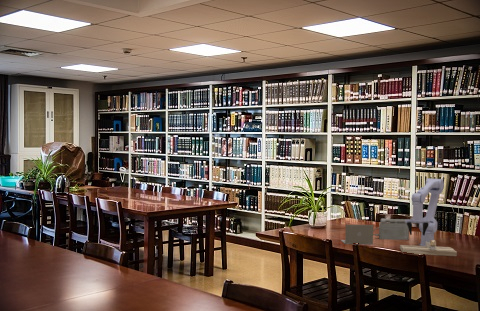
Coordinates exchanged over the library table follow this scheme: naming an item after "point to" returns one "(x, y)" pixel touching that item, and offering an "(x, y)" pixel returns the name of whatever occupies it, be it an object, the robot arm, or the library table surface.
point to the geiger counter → (393, 229)
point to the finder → (428, 244)
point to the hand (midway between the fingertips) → (417, 234)
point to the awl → (432, 244)
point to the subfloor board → (428, 250)
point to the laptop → (358, 234)
